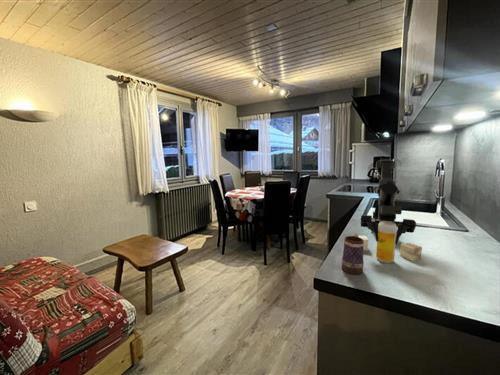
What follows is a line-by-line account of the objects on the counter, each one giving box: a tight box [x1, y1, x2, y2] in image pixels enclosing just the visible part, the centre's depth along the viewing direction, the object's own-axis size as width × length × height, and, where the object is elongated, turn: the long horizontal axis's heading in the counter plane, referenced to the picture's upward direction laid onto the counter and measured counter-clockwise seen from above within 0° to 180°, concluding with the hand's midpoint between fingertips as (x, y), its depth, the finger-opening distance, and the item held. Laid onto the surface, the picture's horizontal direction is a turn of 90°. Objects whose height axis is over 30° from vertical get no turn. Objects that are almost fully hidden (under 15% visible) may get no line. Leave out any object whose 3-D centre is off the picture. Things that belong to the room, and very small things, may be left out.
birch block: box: [399, 242, 423, 261], centre depth 93 cm, size 5×5×5 cm
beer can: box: [375, 221, 398, 264], centre depth 89 cm, size 6×6×15 cm
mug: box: [341, 233, 365, 276], centre depth 83 cm, size 10×7×12 cm
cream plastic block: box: [358, 234, 369, 252], centre depth 102 cm, size 5×5×5 cm
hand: (386, 242), depth 88 cm, fingers closed on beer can, 6 cm apart
